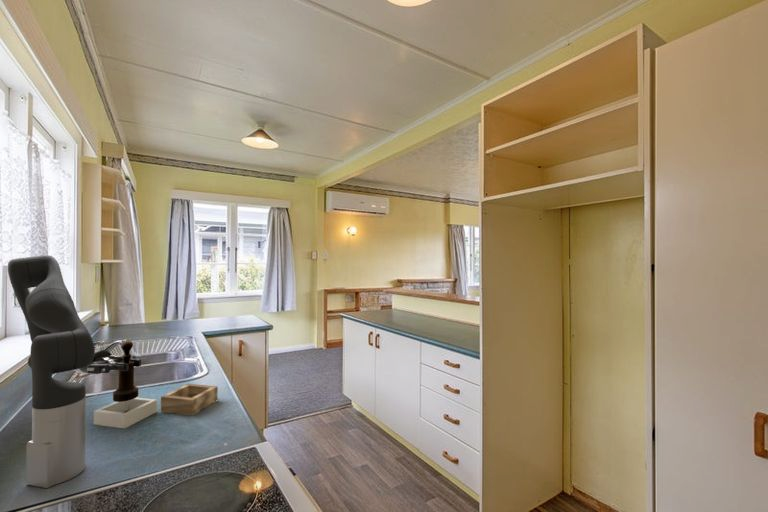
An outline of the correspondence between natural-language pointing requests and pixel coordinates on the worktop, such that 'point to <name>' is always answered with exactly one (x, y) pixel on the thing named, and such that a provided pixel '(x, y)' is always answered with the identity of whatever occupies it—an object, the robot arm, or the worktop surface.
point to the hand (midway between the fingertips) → (133, 365)
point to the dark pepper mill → (126, 377)
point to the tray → (116, 417)
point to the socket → (189, 399)
